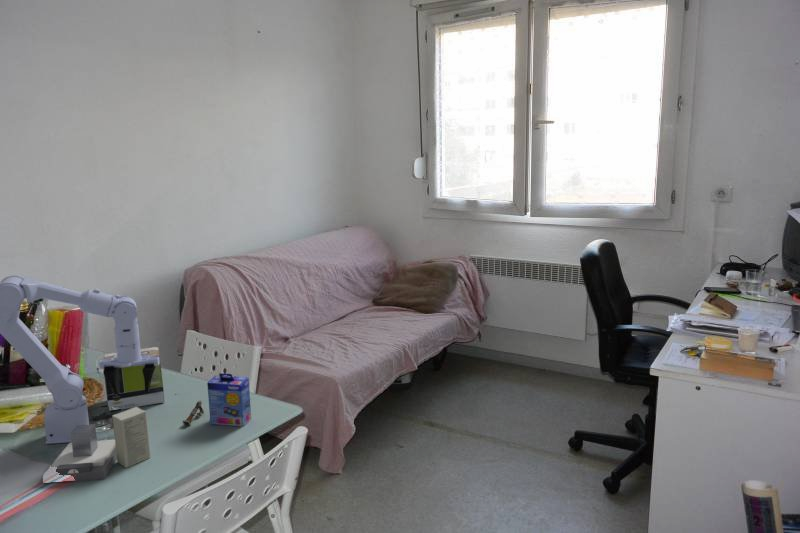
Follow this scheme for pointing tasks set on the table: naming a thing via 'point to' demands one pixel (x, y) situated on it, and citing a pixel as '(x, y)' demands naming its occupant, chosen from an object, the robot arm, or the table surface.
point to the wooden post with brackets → (198, 405)
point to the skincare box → (131, 436)
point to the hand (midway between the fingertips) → (132, 392)
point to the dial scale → (87, 462)
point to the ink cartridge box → (229, 400)
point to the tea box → (135, 384)
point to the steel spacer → (84, 440)
